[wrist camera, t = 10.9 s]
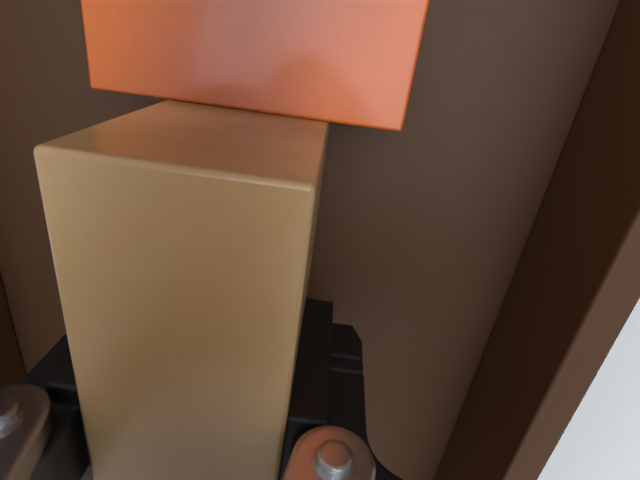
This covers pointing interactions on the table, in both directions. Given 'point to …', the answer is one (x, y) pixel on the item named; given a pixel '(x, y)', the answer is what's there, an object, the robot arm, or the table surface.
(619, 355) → the table surface
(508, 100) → the tray
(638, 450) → the table surface
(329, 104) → the tan and orange bar
